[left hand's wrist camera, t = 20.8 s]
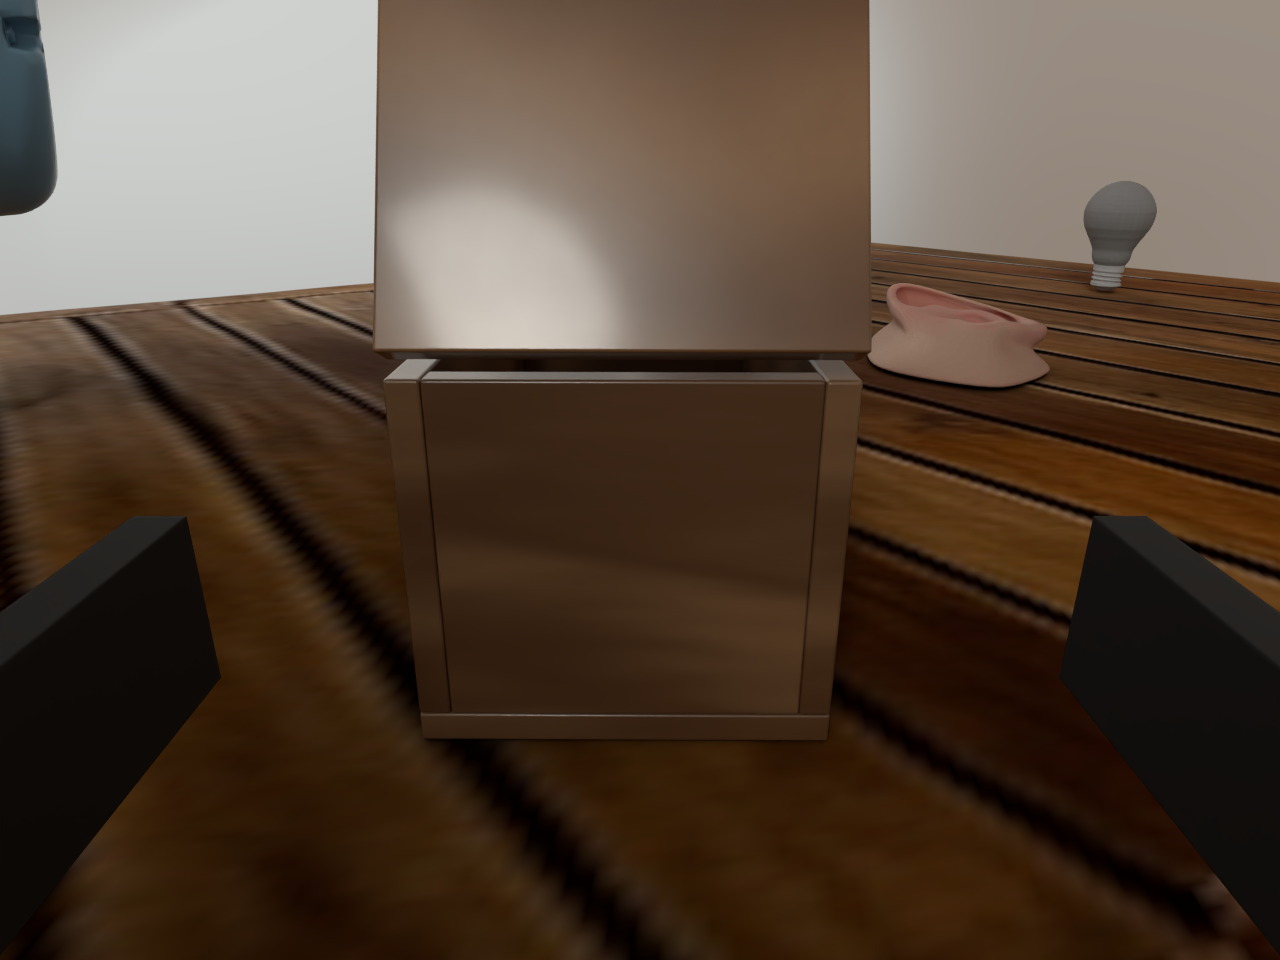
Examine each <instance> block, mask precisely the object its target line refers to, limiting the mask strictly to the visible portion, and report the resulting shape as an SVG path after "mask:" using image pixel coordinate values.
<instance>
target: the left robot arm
mask: <svg viewBox="0 0 1280 960" xmlns="http://www.w3.org/2000/svg"><path fill="white" fill-rule="evenodd" d="M40 31H41V25H40V19H39V12H38V4H37V0H0V216H6V215H17V214H23V213H26V212H29V211H32V210H34V209H36V208H38V207H39V206H41V205H42V204H43V203H45V202H46V201H47V200H48V199H49V197H50V196H51V194H52V193H53V191H54V189H55V186H56V181H57V155H56V144H55V134H54V125H53V116H52V109H51V100H50V92H49V84H48V76H47V69H46V62H45V55H44V49H43V43H42V40H41V33H40ZM220 678H221V676H220V671H219V666H218V662H217V657H216V652H215V648H214V643H213V638H212V634H211V629H210V624H209V620H208V615H207V610H206V606H205V601H204V596H203V592H202V587H201V582H200V578H199V573H198V568H197V564H196V559H195V554H194V550H193V545H192V540H191V536H190V531H189V526H188V522H187V517H186V516H133V517H132V518H130V519H129V520H127V521H126V522H125V523H123V524H122V525H121V526H119V527H118V528H116V529H115V530H114V531H112V532H111V533H109V534H108V535H107V536H105V537H104V538H103V539H101V540H100V541H98V542H97V543H96V544H94V545H93V546H92V547H90V548H89V549H87V550H86V551H85V552H83V553H82V554H80V555H79V556H78V557H76V558H75V559H74V560H72V561H71V562H69V563H68V564H67V565H65V566H64V567H63V568H61V569H60V570H58V571H57V572H56V573H54V574H53V575H52V576H50V577H49V578H47V579H46V580H45V581H43V582H42V583H40V584H39V585H38V586H36V587H35V588H34V589H32V590H31V591H29V592H28V593H27V594H25V595H24V596H23V597H21V598H20V599H18V600H17V601H16V602H14V603H13V604H11V605H10V606H9V607H7V608H6V609H5V610H3V611H2V612H0V955H1V954H2V952H3V951H4V950H5V949H6V947H7V946H8V945H9V944H10V942H11V941H12V940H13V939H14V937H15V936H16V935H17V934H18V932H19V931H20V930H21V929H22V927H23V926H24V925H25V924H26V922H27V921H28V920H29V918H30V917H31V916H32V915H33V913H34V912H35V911H36V910H37V908H38V907H39V906H40V905H41V903H42V902H43V901H44V900H45V898H46V897H47V896H48V895H49V893H50V892H51V891H52V889H53V888H54V887H55V886H56V884H57V883H58V882H59V881H60V879H61V878H62V877H63V876H64V874H65V873H66V872H67V871H68V869H69V868H70V867H71V866H72V864H73V863H74V862H75V861H76V859H77V858H78V857H79V855H80V854H81V853H82V852H83V850H84V849H85V848H86V847H87V845H88V844H89V843H90V842H91V840H92V839H93V838H94V837H95V835H96V834H97V833H98V832H99V830H100V829H101V828H102V826H103V825H104V824H105V823H106V821H107V820H108V819H109V818H110V816H111V815H112V814H113V813H114V811H115V810H116V809H117V808H118V806H119V805H120V804H121V803H122V801H123V800H124V799H125V798H126V796H127V795H128V794H129V792H130V791H131V790H132V789H133V787H134V786H135V785H136V784H137V782H138V781H139V780H140V779H141V777H142V776H143V775H144V774H145V772H146V771H147V770H148V769H149V767H150V766H151V765H152V764H153V762H154V761H155V760H156V758H157V757H158V756H159V755H160V753H161V752H162V751H163V750H164V748H165V747H166V746H167V745H168V743H169V742H170V741H171V740H172V738H173V737H174V736H175V735H176V733H177V732H178V731H179V729H180V728H181V727H182V726H183V724H184V723H185V722H186V721H187V719H188V718H189V717H190V716H191V714H192V713H193V712H194V711H195V709H196V708H197V707H198V706H199V704H200V703H201V702H202V701H203V699H204V698H205V697H206V695H207V694H208V693H209V692H210V690H211V689H212V688H213V687H214V685H215V684H216V683H217V682H218V680H219V679H220ZM1059 678H1060V679H1061V680H1062V682H1063V683H1064V684H1065V685H1066V687H1067V688H1068V689H1069V690H1070V692H1071V693H1072V694H1073V695H1074V697H1075V698H1076V699H1077V701H1078V702H1079V703H1080V704H1081V706H1082V707H1083V708H1084V709H1085V711H1086V712H1087V713H1088V714H1089V716H1090V717H1091V718H1092V719H1093V721H1094V722H1095V723H1096V724H1097V726H1098V727H1099V728H1100V729H1101V731H1102V732H1103V733H1104V735H1105V736H1106V737H1107V738H1108V740H1109V741H1110V742H1111V743H1112V745H1113V746H1114V747H1115V748H1116V750H1117V751H1118V752H1119V753H1120V755H1121V756H1122V757H1123V758H1124V760H1125V761H1126V762H1127V764H1128V765H1129V766H1130V767H1131V769H1132V770H1133V771H1134V772H1135V774H1136V775H1137V776H1138V777H1139V779H1140V780H1141V781H1142V782H1143V784H1144V785H1145V786H1146V787H1147V789H1148V790H1149V791H1150V792H1151V794H1152V795H1153V796H1154V798H1155V799H1156V800H1157V801H1158V803H1159V804H1160V805H1161V806H1162V808H1163V809H1164V810H1165V811H1166V813H1167V814H1168V815H1169V816H1170V818H1171V819H1172V820H1173V821H1174V823H1175V824H1176V825H1177V826H1178V828H1179V829H1180V830H1181V832H1182V833H1183V834H1184V835H1185V837H1186V838H1187V839H1188V840H1189V842H1190V843H1191V844H1192V845H1193V847H1194V848H1195V849H1196V850H1197V852H1198V853H1199V854H1200V855H1201V857H1202V858H1203V859H1204V861H1205V862H1206V863H1207V864H1208V866H1209V867H1210V868H1211V869H1212V871H1213V872H1214V873H1215V874H1216V876H1217V877H1218V878H1219V879H1220V881H1221V882H1222V883H1223V884H1224V886H1225V887H1226V888H1227V889H1228V891H1229V892H1230V893H1231V895H1232V896H1233V897H1234V898H1235V900H1236V901H1237V902H1238V903H1239V905H1240V906H1241V907H1242V908H1243V910H1244V911H1245V912H1246V913H1247V915H1248V916H1249V917H1250V918H1251V920H1252V921H1253V922H1254V924H1255V925H1256V926H1257V927H1258V929H1259V930H1260V931H1261V932H1262V934H1263V935H1264V936H1265V937H1266V939H1267V940H1268V941H1269V942H1270V944H1271V945H1272V946H1273V947H1274V949H1275V950H1276V951H1277V952H1278V954H1279V955H1280V612H1278V611H1277V610H1275V609H1274V608H1273V607H1271V606H1270V605H1269V604H1267V603H1266V602H1264V601H1263V600H1262V599H1260V598H1259V597H1257V596H1256V595H1255V594H1253V593H1252V592H1251V591H1249V590H1248V589H1246V588H1245V587H1244V586H1242V585H1241V584H1240V583H1238V582H1237V581H1235V580H1234V579H1233V578H1231V577H1230V576H1228V575H1227V574H1226V573H1224V572H1223V571H1222V570H1220V569H1219V568H1217V567H1216V566H1215V565H1213V564H1212V563H1211V562H1209V561H1208V560H1206V559H1205V558H1204V557H1202V556H1201V555H1200V554H1198V553H1197V552H1195V551H1194V550H1193V549H1191V548H1190V547H1188V546H1187V545H1186V544H1184V543H1183V542H1182V541H1180V540H1179V539H1177V538H1176V537H1175V536H1173V535H1172V534H1171V533H1169V532H1168V531H1166V530H1165V529H1164V528H1162V527H1161V526H1159V525H1158V524H1157V523H1155V522H1154V521H1153V520H1151V519H1150V518H1148V517H1147V516H1094V517H1093V522H1092V526H1091V531H1090V536H1089V540H1088V545H1087V550H1086V554H1085V559H1084V564H1083V568H1082V573H1081V578H1080V582H1079V587H1078V592H1077V596H1076V601H1075V606H1074V610H1073V615H1072V620H1071V624H1070V629H1069V634H1068V638H1067V643H1066V648H1065V652H1064V657H1063V662H1062V666H1061V671H1060V676H1059Z"/></svg>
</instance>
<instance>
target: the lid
mask: <svg viewBox="0 0 1280 960" xmlns="http://www.w3.org/2000/svg"><path fill="white" fill-rule="evenodd" d="M871 350H872V332H871V186H870V42H869V0H378V34H377V100H376V166H375V233H374V299H373V351H374V352H376V353H377V354H379V355H381V356H382V357H384V358H386V359H529V360H860V359H862V358H863V357H865V356H866V355H868V354H869V353H871Z"/></svg>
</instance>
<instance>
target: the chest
mask: <svg viewBox="0 0 1280 960" xmlns="http://www.w3.org/2000/svg"><path fill="white" fill-rule="evenodd" d="M862 387H863V383H862V381H861V380H860V379H859V378H858V376H857V375H856V374H855V373H854V372H853V371H852V370H851V369H850V368H849V367H848V366H847V365H846V364H845V363H844V361H843V360H529V359H407V360H406V361H405V362H404V363H402V364H401V365H400V366H399V367H398V368H397V369H396V370H394V371H393V372H392V373H391V374H390V375H389V376H388V377H387V378H385V379H384V381H383V388H384V396H385V405H386V414H387V423H388V432H389V441H390V449H391V458H392V467H393V476H394V485H395V494H396V503H397V511H398V520H399V529H400V538H401V547H402V556H403V564H404V573H405V582H406V591H407V600H408V609H409V618H410V626H411V635H412V644H413V653H414V662H415V671H416V679H417V688H418V697H419V706H420V711H421V714H420V716H421V725H422V734H423V738H425V739H581V740H791V741H825V740H827V738H828V730H829V720H830V716H829V712H830V708H831V698H832V688H833V678H834V667H835V657H836V647H837V637H838V627H839V617H840V607H841V597H842V587H843V577H844V567H845V557H846V547H847V537H848V527H849V517H850V507H851V497H852V487H853V477H854V467H855V457H856V447H857V437H858V427H859V417H860V407H861V397H862Z"/></svg>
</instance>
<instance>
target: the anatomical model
mask: <svg viewBox="0 0 1280 960" xmlns="http://www.w3.org/2000/svg"><path fill="white" fill-rule="evenodd" d="M886 298H887V305H888V308H889V311H890V313H891V314H892V316H893V320H892V321H891V322H890V323H889V324H888V325H887V326H885V327H884V328H883V329H881V330H880V331H879V332H877V333H876V334H875V335H874V336H873V337H872V350H871V353H869V354H868V358H869V360H870V361H871V362H872V363H873V364H874V365H876V366H878V367H880V368H882V369H885V370H888V371H891V372H895V373H899V374H904V375H908V376H913V377H918V378H923V379H928V380H935V381H941V382H947V383H954V384H961V385H969V386H978V387H992V388H999V387H1010V386H1015V385H1019V384H1023V383H1026V382H1029V381H1032V380H1035V379H1037V378H1039V377H1041V376H1043V375H1045V374H1046V373H1048V372H1049V370H1050V369H1049V366H1048V365H1047V364H1046V363H1045V362H1044V361H1043V360H1042V359H1041V358H1040V357H1039V356H1038V355H1037V354H1036V353H1035V352H1034V350H1033V347H1034V346H1035V345H1036V344H1037V343H1039V342H1040V341H1042V340H1043V339H1044V338H1045V337H1046V334H1047V328H1046V326H1045V325H1043V324H1041V323H1039V322H1036V321H1033V320H1030V319H1027V318H1024V317H1021V316H1018V315H1015V314H1012V313H1009V312H1007V311H1004V310H1001V309H998V308H995V307H992V306H989V305H986V304H983V303H979V302H976V301H972V300H969V299H965V298H962V297H958V296H955V295H952V294H948V293H945V292H941V291H938V290H934V289H931V288H927V287H923V286H919V285H914V284H907V283H899V284H895V285H892V286H891V287H890V288H889V289H888V292H887V296H886Z"/></svg>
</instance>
